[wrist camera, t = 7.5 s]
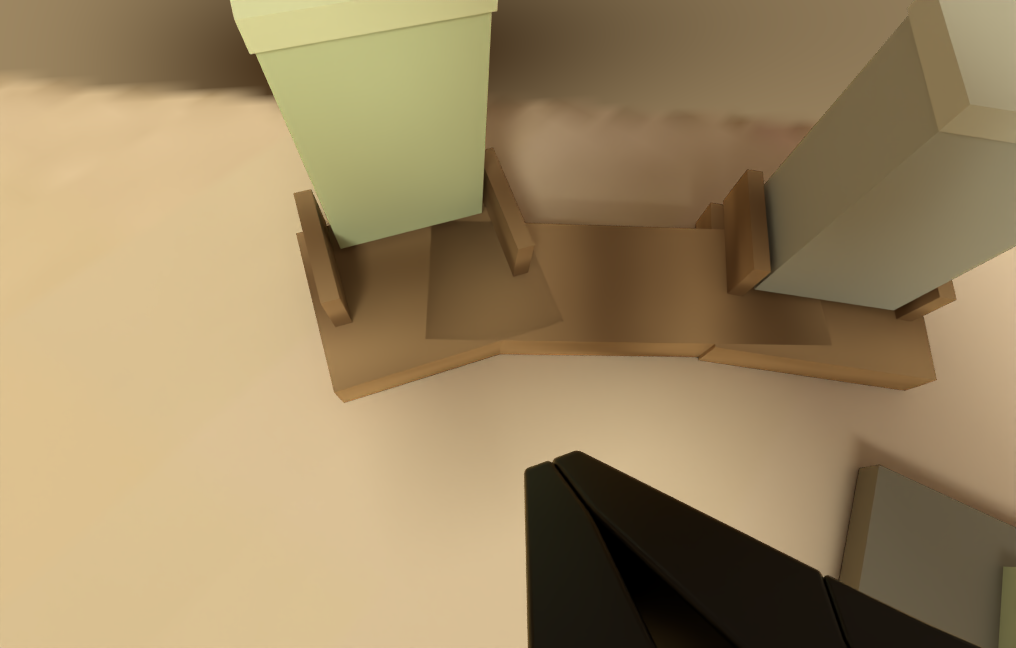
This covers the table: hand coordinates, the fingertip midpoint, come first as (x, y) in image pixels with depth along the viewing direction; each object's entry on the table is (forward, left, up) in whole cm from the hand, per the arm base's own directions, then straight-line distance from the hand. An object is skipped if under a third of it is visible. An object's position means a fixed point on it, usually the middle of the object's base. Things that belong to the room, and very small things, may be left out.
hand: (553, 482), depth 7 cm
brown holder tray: (-1, -9, -11) cm, 14 cm away
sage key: (+9, -9, -9) cm, 16 cm away
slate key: (-7, -14, -9) cm, 18 cm away
